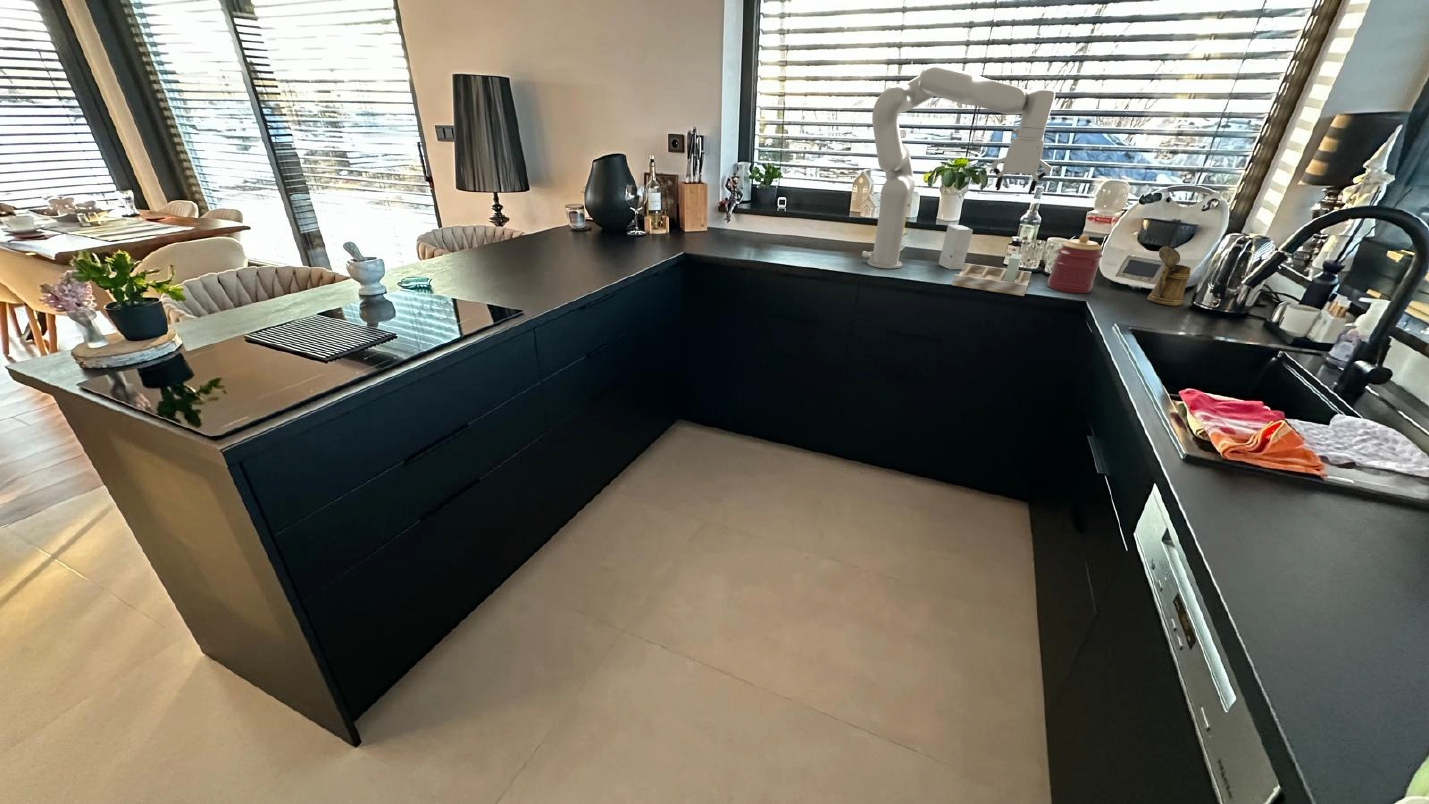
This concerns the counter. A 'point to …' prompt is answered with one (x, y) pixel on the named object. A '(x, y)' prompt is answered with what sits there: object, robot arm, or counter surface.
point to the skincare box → (955, 246)
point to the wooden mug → (1170, 279)
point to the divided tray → (991, 279)
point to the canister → (1075, 265)
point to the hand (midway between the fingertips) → (1013, 191)
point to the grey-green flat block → (1012, 268)
